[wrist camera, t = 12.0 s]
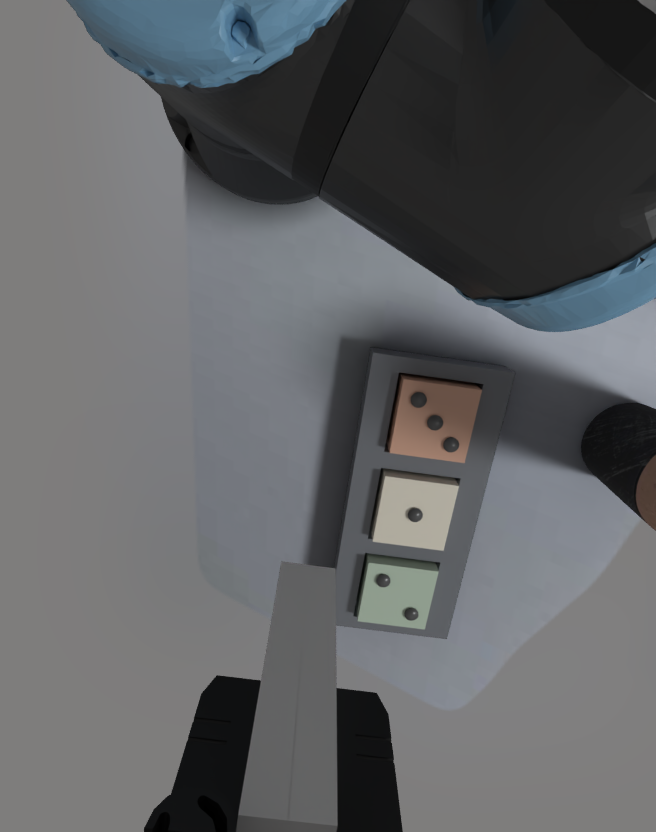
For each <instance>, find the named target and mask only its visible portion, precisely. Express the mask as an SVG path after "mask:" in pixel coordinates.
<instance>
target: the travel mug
mask: <svg viewBox="0 0 656 832" xmlns="http://www.w3.org/2000/svg"><path fill="white" fill-rule="evenodd" d="M581 448H582V456H583V459H584V462H585V464H586V466H587V467H588V469H589V470H590V471H591V472H592V473H593V474H594V475H595V476H596V477H597V478H598V479H599V480H600V481H601V482H602V483H603V484H605V485H606V486H607V487H608V488H609V489H610V490H611V491H612V492H613V493H614V494H615V495H617V496H618V497H619V498H620V499H621V500H622V501H623V502H624V503H625V504H626V505H627V506H629V507H630V508H631V509H632V510H633V511H634V512H635V513H636V514H637V515H638V516H639V517H641V518H642V519H643V520H644V521H645V522H646V523H647V524H648V525H649V526H651V527H652V528H653V529H654V530H656V409H654V408H651V407H649V406H646V405H642V404H638V403H625V404H619V405H616V406H613V407H611V408H608V409H607V410H605V411H603V412H602V413H600V414H599V415H598V416H597V417H596V418H595V419H594V420H593V421H592V422H591V423H590V425H589V426H588V428H587V429H586V431H585V434H584V436H583V440H582V446H581Z"/></svg>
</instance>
